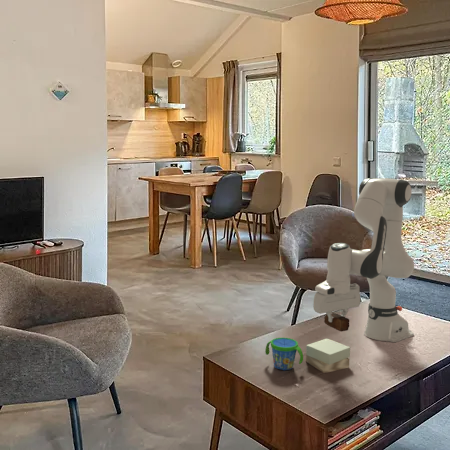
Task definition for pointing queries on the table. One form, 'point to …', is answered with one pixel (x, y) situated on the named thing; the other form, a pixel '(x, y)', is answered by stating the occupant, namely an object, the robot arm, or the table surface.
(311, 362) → the lower slab
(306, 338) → the table surface
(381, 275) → the robot arm
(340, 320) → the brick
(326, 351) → the upper slab
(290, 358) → the snack cup
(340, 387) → the table surface
